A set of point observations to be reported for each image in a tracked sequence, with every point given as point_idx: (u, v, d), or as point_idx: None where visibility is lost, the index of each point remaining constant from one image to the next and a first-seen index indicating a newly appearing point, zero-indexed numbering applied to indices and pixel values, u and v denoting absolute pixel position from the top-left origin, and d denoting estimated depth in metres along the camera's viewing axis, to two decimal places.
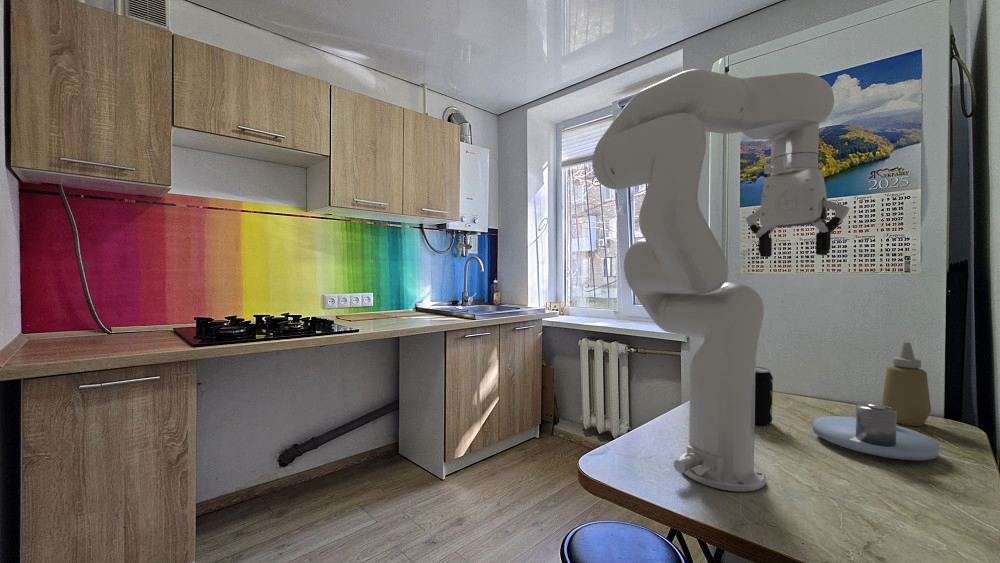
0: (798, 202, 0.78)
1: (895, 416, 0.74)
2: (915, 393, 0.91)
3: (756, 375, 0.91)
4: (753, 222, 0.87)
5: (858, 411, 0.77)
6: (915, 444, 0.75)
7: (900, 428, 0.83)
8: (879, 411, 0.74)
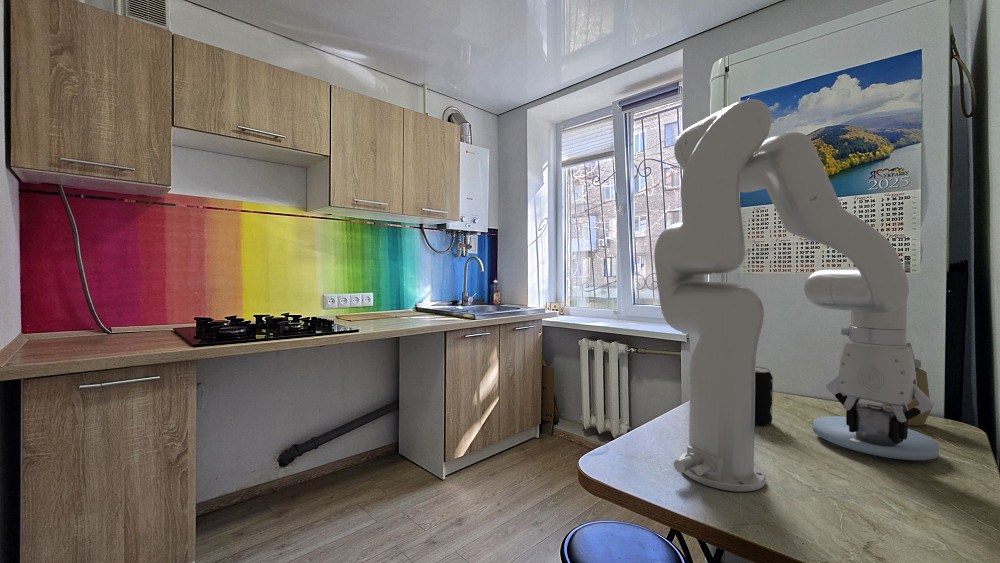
0: (885, 381, 0.73)
1: (894, 416, 0.74)
2: None
3: (756, 375, 0.91)
4: (836, 390, 0.81)
5: (858, 411, 0.77)
6: (915, 444, 0.75)
7: None
8: (879, 411, 0.74)
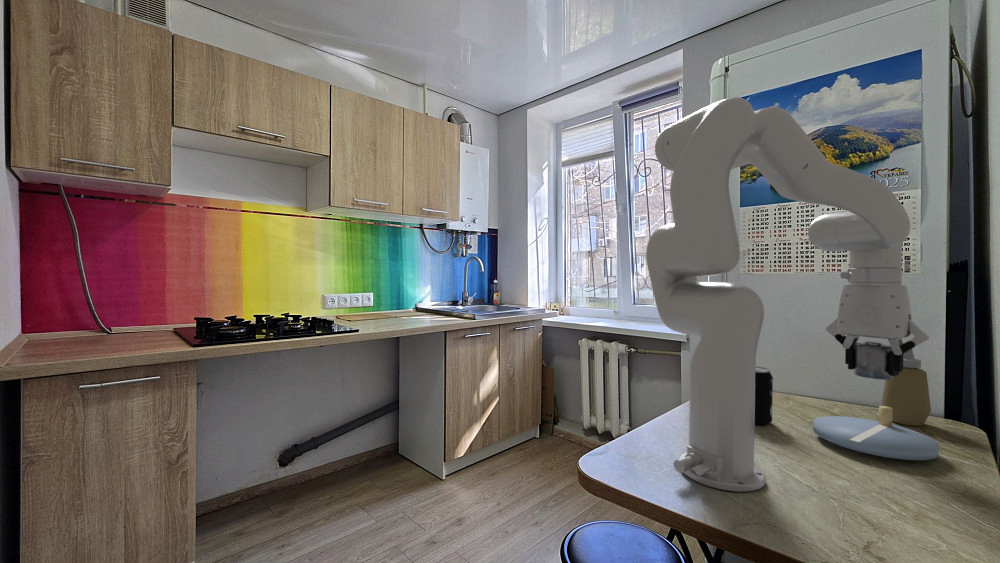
0: (882, 317, 0.77)
1: (891, 351, 0.78)
2: (915, 393, 0.91)
3: (756, 375, 0.91)
4: (836, 331, 0.85)
5: (856, 348, 0.81)
6: (915, 444, 0.75)
7: (900, 428, 0.83)
8: (876, 346, 0.78)
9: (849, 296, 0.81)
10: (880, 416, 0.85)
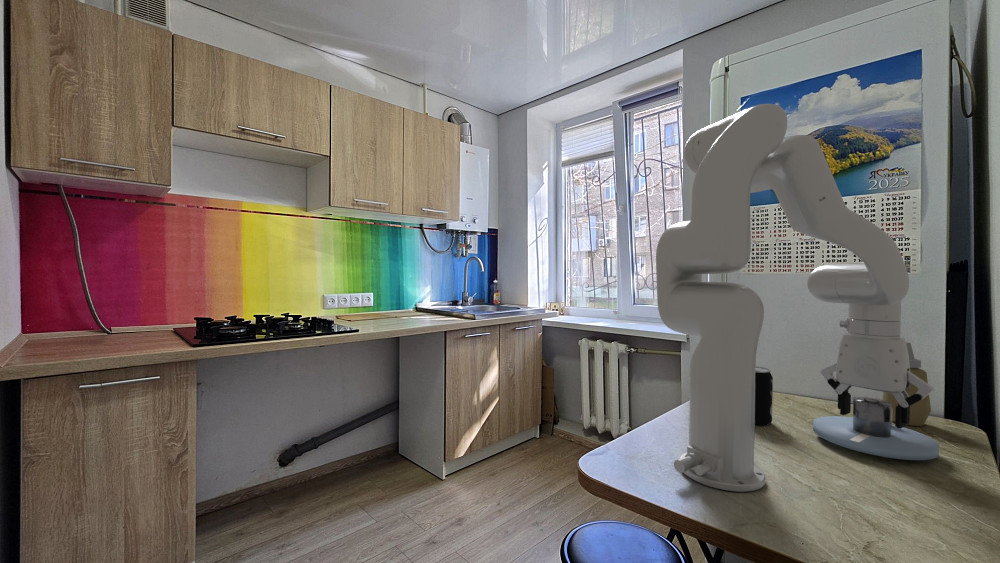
0: (881, 370, 0.77)
1: (889, 409, 0.78)
2: None
3: (756, 375, 0.91)
4: (830, 376, 0.86)
5: (855, 404, 0.81)
6: (915, 444, 0.75)
7: None
8: (874, 404, 0.79)
9: (848, 346, 0.82)
10: None
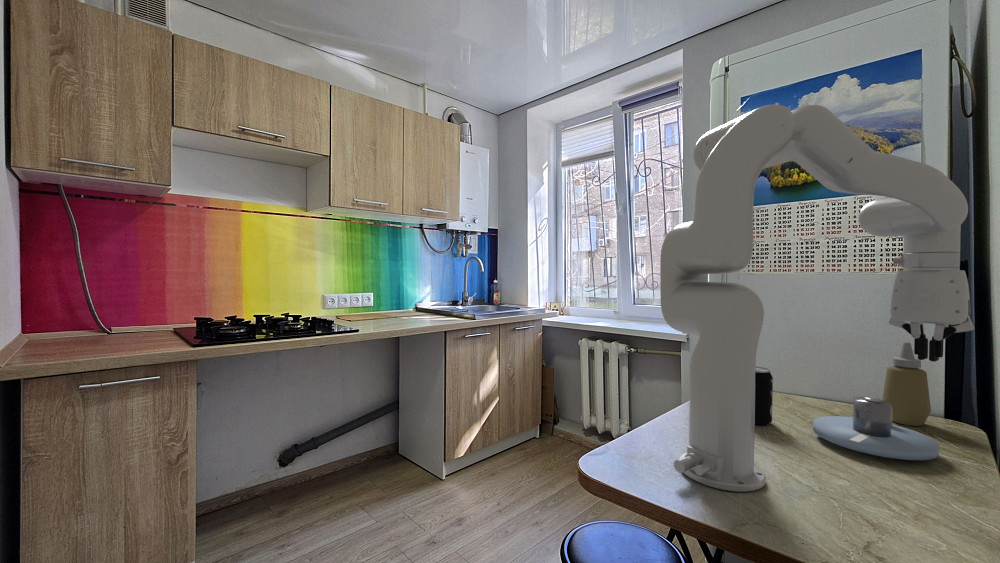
0: (940, 302, 0.76)
1: (889, 409, 0.78)
2: (915, 393, 0.91)
3: (756, 375, 0.91)
4: (901, 322, 0.82)
5: (855, 404, 0.81)
6: (915, 444, 0.75)
7: (900, 428, 0.83)
8: (874, 404, 0.79)
9: (904, 282, 0.80)
10: None
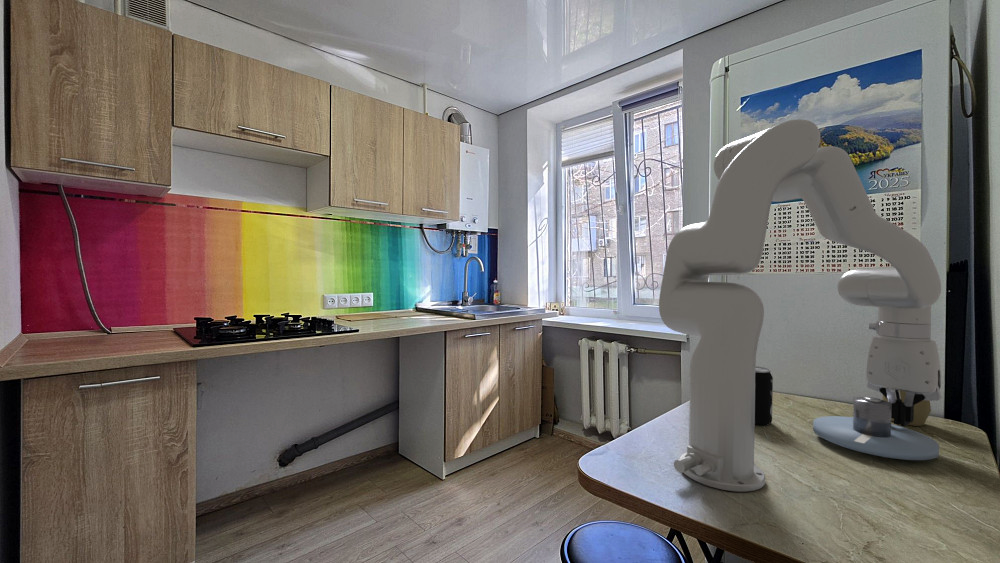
0: (911, 372, 0.79)
1: (890, 408, 0.78)
2: None
3: (756, 375, 0.91)
4: (878, 386, 0.85)
5: (856, 404, 0.81)
6: (917, 443, 0.75)
7: (896, 427, 0.83)
8: (876, 404, 0.78)
9: (878, 348, 0.84)
10: None
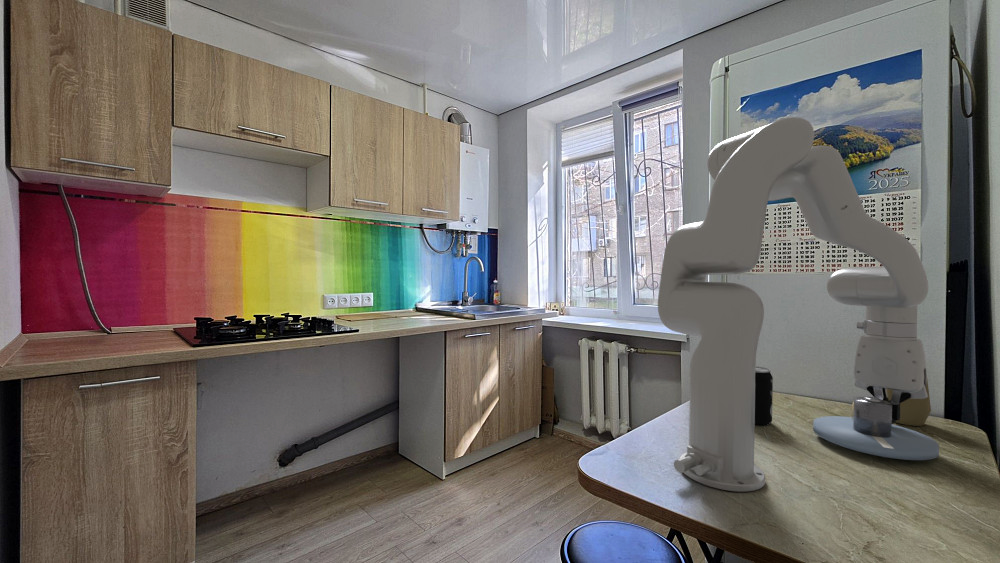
0: (898, 370, 0.80)
1: (891, 407, 0.79)
2: None
3: (756, 375, 0.91)
4: (865, 384, 0.86)
5: (862, 406, 0.80)
6: (918, 439, 0.77)
7: None
8: (883, 404, 0.78)
9: (866, 347, 0.84)
10: None
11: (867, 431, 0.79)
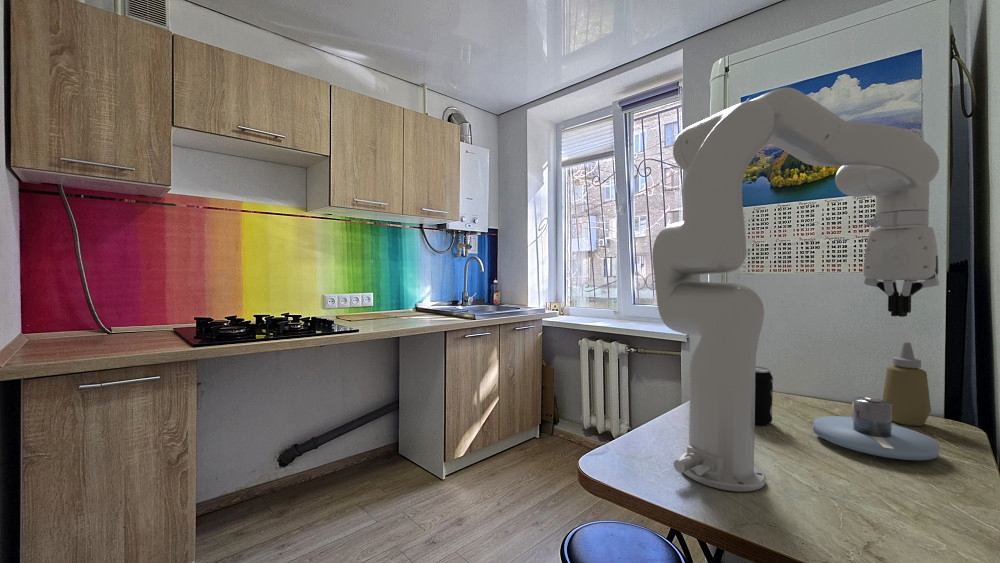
0: (909, 259, 0.79)
1: (891, 407, 0.79)
2: (915, 393, 0.91)
3: (756, 375, 0.91)
4: (875, 281, 0.85)
5: (862, 406, 0.80)
6: (918, 439, 0.77)
7: None
8: (883, 404, 0.78)
9: (876, 241, 0.83)
10: None
11: (867, 431, 0.79)
